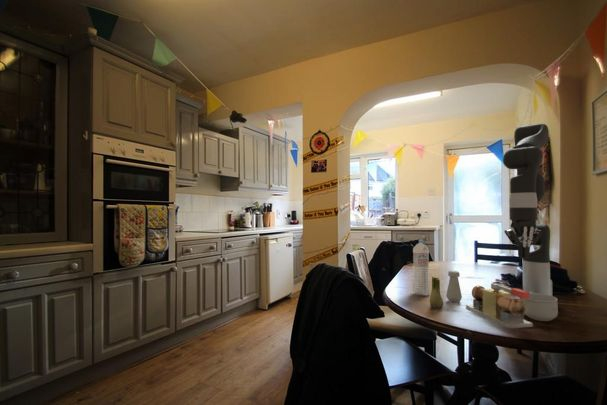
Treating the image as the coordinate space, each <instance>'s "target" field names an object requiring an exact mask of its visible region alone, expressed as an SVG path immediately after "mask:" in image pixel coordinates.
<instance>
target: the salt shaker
mask: <svg viewBox="0 0 607 405" xmlns="http://www.w3.org/2000/svg"><path fill="white" fill-rule="evenodd" d="M447 275H448V276H449V280H448V285H447V290H446V295H445V296H446V298H447V301H448V302H449V303H452V304H459V303H460V302H461V300H462V298H463V296H462V295H463V294H462V290H461V286H460V281H459V278H460V276H461V275H460V272H459V271H457V270H453V269H452V270H449V271H448V272H447Z"/></svg>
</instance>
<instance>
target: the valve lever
mask: <svg viewBox="0 0 607 405" xmlns="http://www.w3.org/2000/svg"><path fill="white" fill-rule="evenodd" d="M490 289H495V290H502V291H505V292H508V293H511V296H515V297H517V298H519V299H520V298H523V299H528V298H529V292H527V291H524V290H523V289H519V288H518V287H517V288H510V287H508V286H504V285H502V284H501V283H497V282H496V283H494V282H493V283H490Z"/></svg>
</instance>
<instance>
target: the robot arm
mask: <svg viewBox="0 0 607 405" xmlns="http://www.w3.org/2000/svg"><path fill="white" fill-rule="evenodd" d="M549 132H550V131H549V127H548V125H547V124H545V123H536V124H535V123H534V124H530V125H522V126H518V127H516V128H515V129H514V135H513V137H514V139H513V140H514V141H513V142H514V146H512V147H510V148H508V149H507V150H506V151H505V152H504V154H503V157H502V162H503V165H504V167H505V168H507V169H509V170H516V175H514V176H513V177H511V178H510V181H509V187H510V188H509V201H508V202H509V220H510V221H511V224H510V227H509V228H508V229H505V230H504V234H505V235H506V237H507V238H508V240H509V241H510V242H511V244H512V245H515V246H517V252H518V253H517V255H518V258H520V259H522V260H521V261H522V290H524V291H527V292H533V293H540V294H546V295H550V296H553V280H552V279H551V264H550V262H551V261H550V260H551V258H550V241H551V229H550V228H551V227H550V226H549V225H548V224H546V223H544V224H543V223H536V221H538V219H539V218H538V216H539V215H538V214H539V213H538V204H539V203H540V202H541V200H543V197H544V196H545V192H546V190H545V189H546V186H545V185H546V184H545V177H544V175H543V174H542V173H541V172H540V171H539V169H540V166H541V165H542V161H543V157H544V154H543V151H542V150H541V149H542V148H543V147H545V146H546V145H547V144H548V142H549V138H550V133H549ZM531 246H539V248H537V249H535V250H533V251H530V247H531Z"/></svg>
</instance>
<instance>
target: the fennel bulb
mask: <svg viewBox="0 0 607 405" xmlns="http://www.w3.org/2000/svg"><path fill="white" fill-rule="evenodd" d="M440 285H441V283H440V278H439V277H436V276H432V277H431V291H430V296H429V297H430V298H429V306H430V307H431V308H432V309H437V310H440V309H442V308H443V306H444V300H443V298H442V295H441V290H440V289H441V288H440V287H441V286H440Z"/></svg>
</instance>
